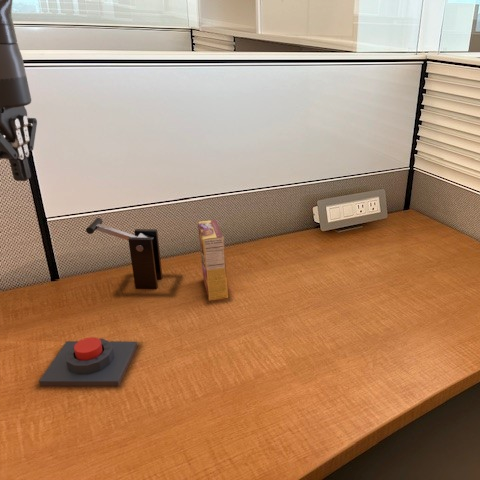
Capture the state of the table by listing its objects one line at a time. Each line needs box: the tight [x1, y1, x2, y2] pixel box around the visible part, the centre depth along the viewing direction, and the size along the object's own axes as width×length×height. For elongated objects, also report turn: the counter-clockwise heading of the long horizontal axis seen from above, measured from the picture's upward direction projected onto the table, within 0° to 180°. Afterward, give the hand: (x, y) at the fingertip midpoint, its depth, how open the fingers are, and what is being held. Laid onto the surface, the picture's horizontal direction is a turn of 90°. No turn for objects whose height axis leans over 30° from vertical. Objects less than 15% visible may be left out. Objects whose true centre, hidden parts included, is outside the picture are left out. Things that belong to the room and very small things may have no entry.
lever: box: [85, 217, 153, 241], centre depth 97 cm, size 12×5×2 cm, turn 93°
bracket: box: [127, 228, 163, 290], centre depth 100 cm, size 11×8×13 cm
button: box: [74, 336, 103, 361], centre depth 78 cm, size 4×4×2 cm
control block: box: [38, 338, 138, 387], centre depth 79 cm, size 12×10×4 cm
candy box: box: [197, 219, 229, 302], centre depth 99 cm, size 9×4×15 cm, turn 20°
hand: (23, 179), depth 82 cm, fingers closed
